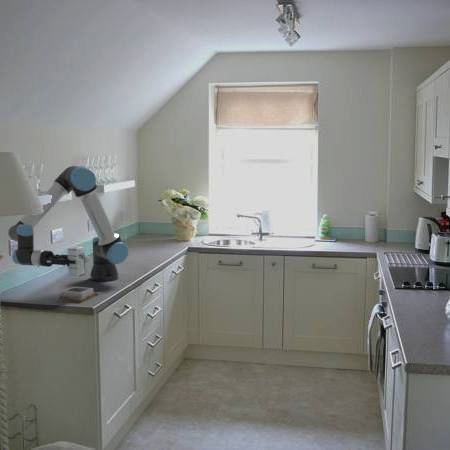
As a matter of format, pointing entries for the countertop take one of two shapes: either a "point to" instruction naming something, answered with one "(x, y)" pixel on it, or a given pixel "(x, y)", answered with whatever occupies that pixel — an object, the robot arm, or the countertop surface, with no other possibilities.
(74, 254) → the syrup box
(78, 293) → the socket collar
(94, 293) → the carrier plate
